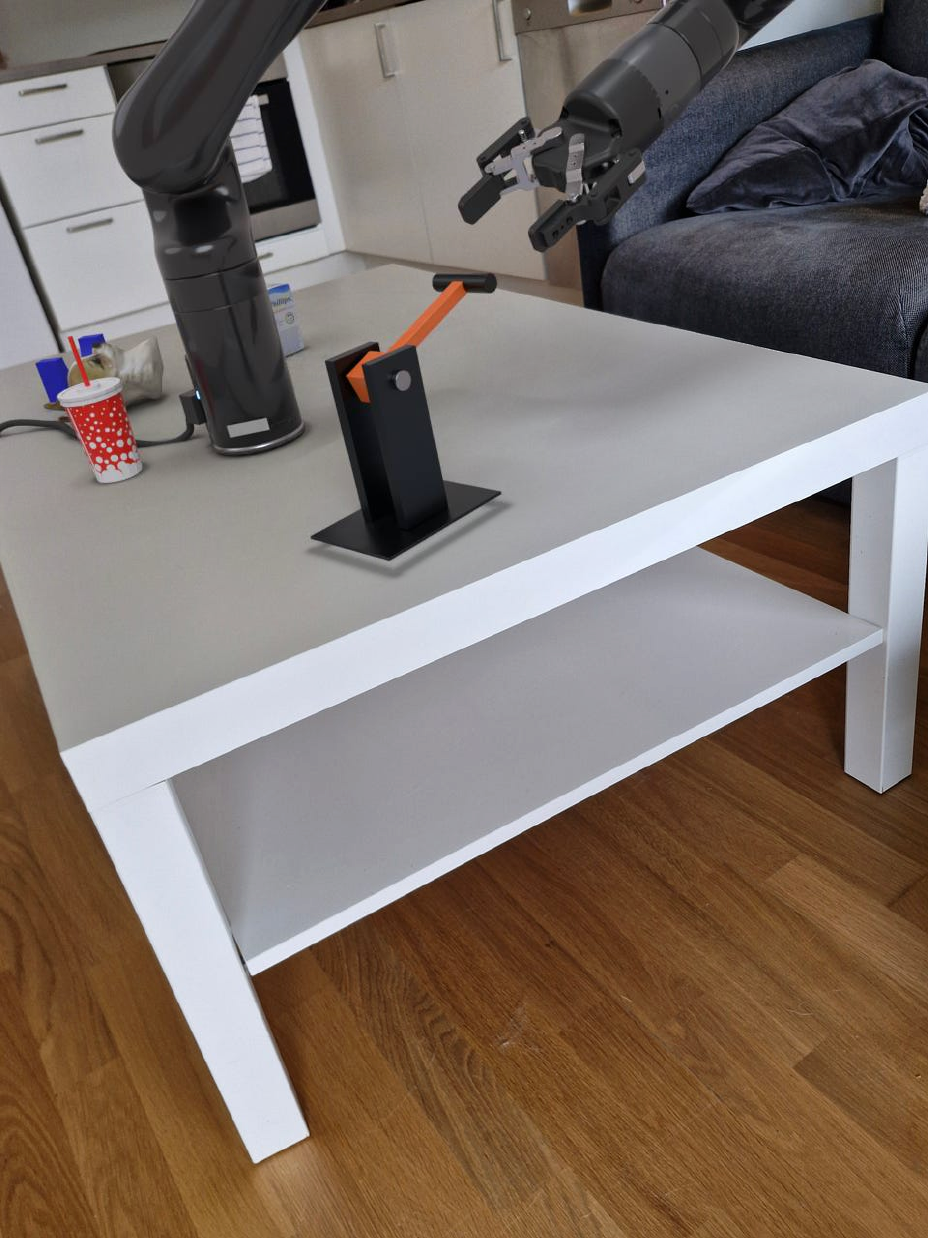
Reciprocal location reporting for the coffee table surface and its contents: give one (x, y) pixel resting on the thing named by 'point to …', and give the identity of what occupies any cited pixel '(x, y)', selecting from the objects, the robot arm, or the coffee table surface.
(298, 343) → the medicine box
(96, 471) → the beverage cup
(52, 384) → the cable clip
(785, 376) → the coffee table surface
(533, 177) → the robot arm
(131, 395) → the ceramic sculpture
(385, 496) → the black lever stand
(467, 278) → the clamp lever
